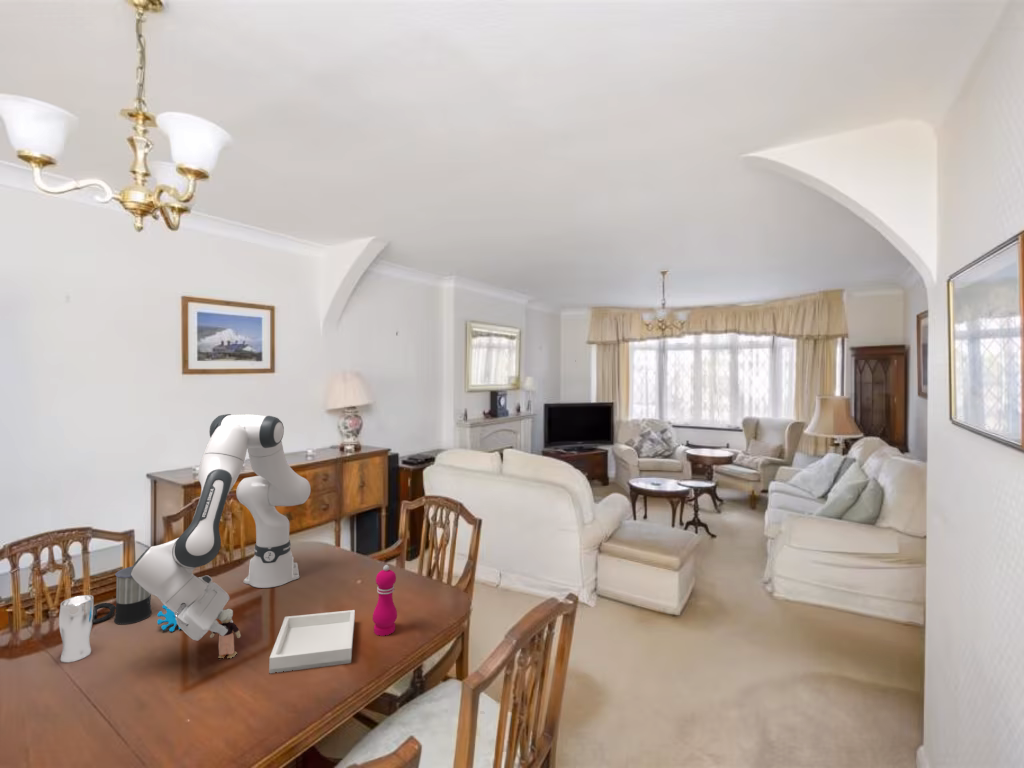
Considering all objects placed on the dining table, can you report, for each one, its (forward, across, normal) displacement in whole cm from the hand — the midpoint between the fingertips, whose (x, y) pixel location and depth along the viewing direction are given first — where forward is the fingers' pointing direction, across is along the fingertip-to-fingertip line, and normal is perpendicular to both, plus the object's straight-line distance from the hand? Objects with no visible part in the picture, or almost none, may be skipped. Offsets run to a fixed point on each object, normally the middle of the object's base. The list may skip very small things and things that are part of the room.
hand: (228, 628), depth 130 cm
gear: (-8, +21, +19) cm, 29 cm away
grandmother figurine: (+5, 0, +6) cm, 8 cm away
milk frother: (-22, +30, +32) cm, 49 cm away
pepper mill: (+35, +4, -24) cm, 42 cm away
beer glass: (-22, +9, +33) cm, 40 cm away
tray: (+21, 0, -11) cm, 24 cm away
